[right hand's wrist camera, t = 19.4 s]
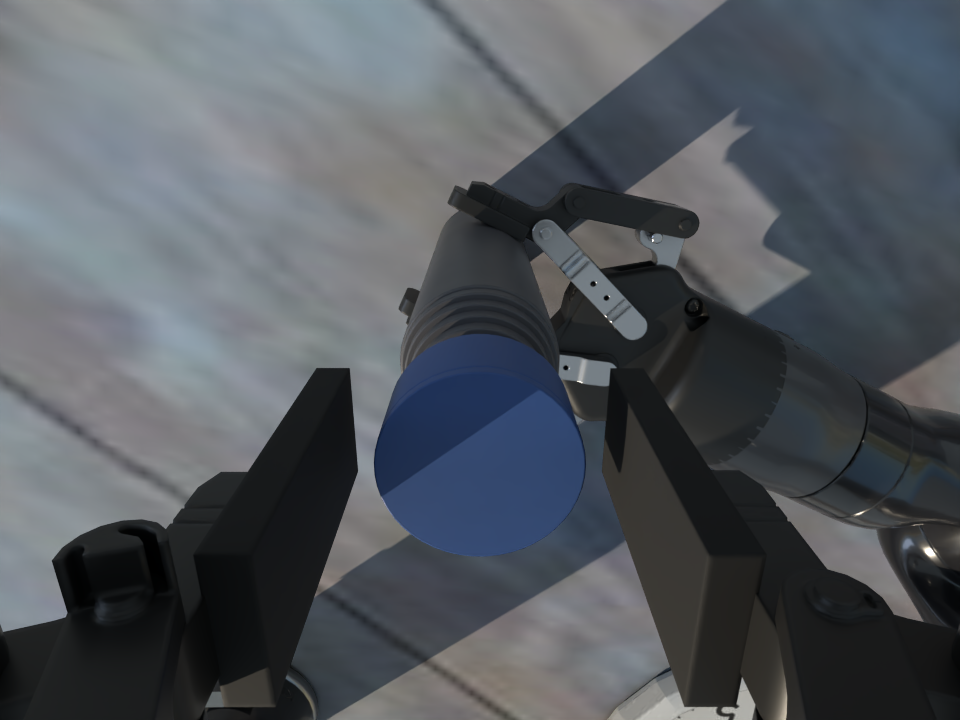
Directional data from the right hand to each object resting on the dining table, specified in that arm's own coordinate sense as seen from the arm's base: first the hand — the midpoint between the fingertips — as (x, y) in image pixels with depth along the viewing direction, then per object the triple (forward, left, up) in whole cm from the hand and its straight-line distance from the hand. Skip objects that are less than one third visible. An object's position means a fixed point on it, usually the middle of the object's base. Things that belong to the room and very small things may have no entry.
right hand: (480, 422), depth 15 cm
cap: (0, 0, +2) cm, 2 cm away
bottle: (0, 0, -21) cm, 21 cm away
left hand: (-1, -3, -15) cm, 16 cm away
